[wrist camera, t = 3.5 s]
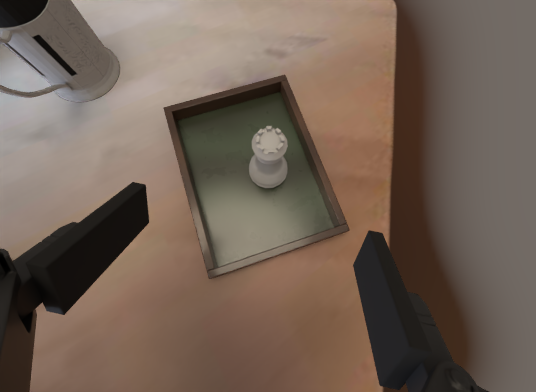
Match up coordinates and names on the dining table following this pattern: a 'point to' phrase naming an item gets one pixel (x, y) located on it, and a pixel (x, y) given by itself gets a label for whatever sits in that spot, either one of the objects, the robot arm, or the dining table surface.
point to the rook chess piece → (268, 158)
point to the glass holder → (57, 48)
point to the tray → (240, 183)
